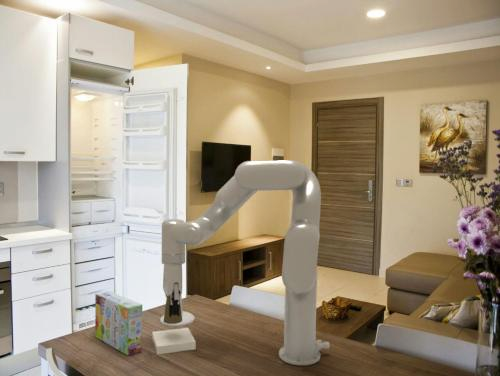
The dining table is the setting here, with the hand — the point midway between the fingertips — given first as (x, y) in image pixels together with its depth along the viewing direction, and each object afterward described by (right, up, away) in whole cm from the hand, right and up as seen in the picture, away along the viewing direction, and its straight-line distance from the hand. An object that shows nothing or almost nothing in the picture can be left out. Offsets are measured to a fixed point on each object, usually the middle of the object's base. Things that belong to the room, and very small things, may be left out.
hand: (173, 313), depth 137 cm
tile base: (0, -10, +1) cm, 10 cm away
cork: (0, -2, 0) cm, 2 cm away
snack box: (-18, -10, 0) cm, 21 cm away
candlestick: (-2, -9, +22) cm, 24 cm away
